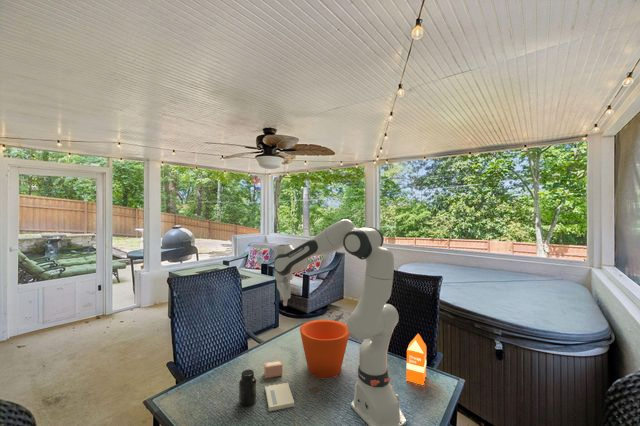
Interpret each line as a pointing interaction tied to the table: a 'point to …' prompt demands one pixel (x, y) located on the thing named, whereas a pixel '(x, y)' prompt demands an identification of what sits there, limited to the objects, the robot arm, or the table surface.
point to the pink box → (272, 369)
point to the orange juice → (416, 361)
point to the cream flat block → (279, 396)
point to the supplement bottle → (247, 389)
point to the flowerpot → (324, 346)
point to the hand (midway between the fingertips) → (283, 302)
